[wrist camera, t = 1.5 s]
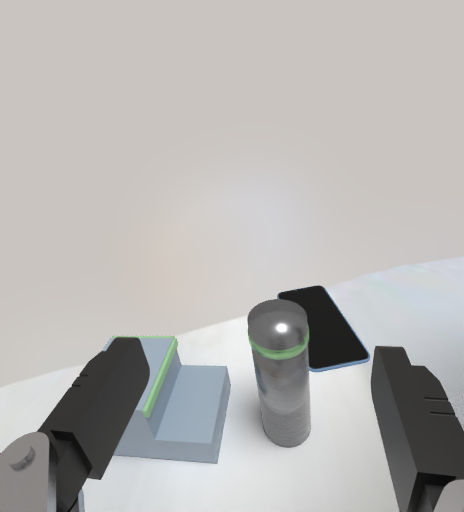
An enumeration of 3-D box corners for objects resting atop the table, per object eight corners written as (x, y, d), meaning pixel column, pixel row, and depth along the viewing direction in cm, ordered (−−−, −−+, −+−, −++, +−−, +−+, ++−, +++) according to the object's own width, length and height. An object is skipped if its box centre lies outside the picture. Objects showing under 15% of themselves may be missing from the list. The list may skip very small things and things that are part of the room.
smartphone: (309, 371, 34) (275, 292, 47) (309, 377, 34) (275, 296, 47) (375, 357, 34) (322, 282, 47) (374, 363, 34) (322, 287, 48)
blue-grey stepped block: (231, 382, 34) (221, 335, 31) (217, 463, 27) (202, 413, 24) (131, 379, 37) (112, 335, 33) (94, 453, 30) (64, 406, 26)
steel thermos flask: (309, 402, 31) (306, 297, 25) (313, 450, 27) (310, 340, 21) (263, 400, 32) (249, 299, 26) (260, 446, 28) (242, 339, 22)
